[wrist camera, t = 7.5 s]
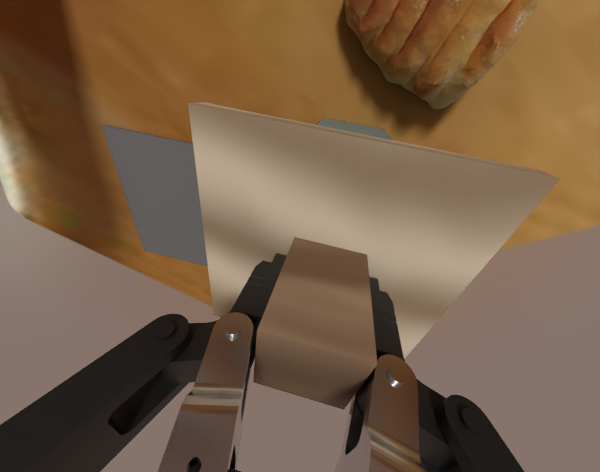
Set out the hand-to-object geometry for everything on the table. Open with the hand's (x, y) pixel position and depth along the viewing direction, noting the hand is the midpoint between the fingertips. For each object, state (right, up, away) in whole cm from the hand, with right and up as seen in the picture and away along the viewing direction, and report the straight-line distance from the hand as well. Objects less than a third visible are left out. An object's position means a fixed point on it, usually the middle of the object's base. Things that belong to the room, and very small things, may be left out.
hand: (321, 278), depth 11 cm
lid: (0, +1, +1) cm, 2 cm away
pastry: (+7, +15, +3) cm, 16 cm away
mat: (-13, +5, +14) cm, 20 cm away
